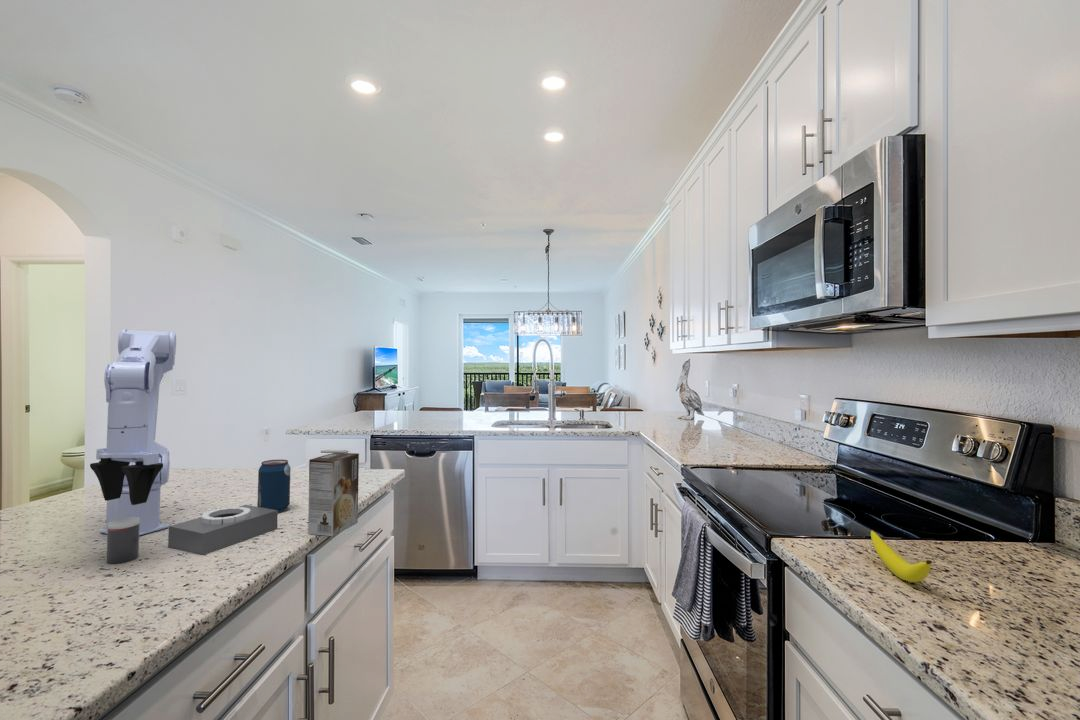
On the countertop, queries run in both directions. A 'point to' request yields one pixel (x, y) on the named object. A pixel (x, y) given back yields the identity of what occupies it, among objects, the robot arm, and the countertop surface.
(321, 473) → the cardboard rectangular box
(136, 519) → the lens
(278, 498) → the soda can
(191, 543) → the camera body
